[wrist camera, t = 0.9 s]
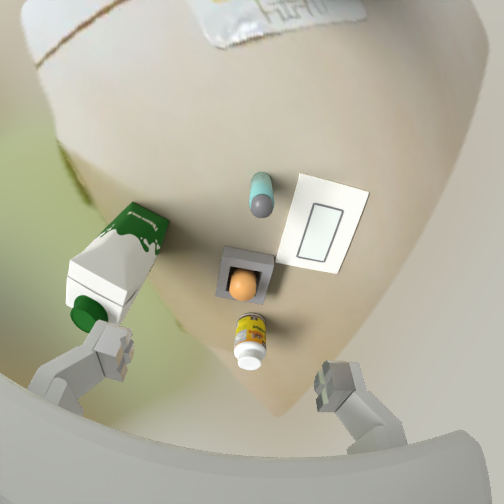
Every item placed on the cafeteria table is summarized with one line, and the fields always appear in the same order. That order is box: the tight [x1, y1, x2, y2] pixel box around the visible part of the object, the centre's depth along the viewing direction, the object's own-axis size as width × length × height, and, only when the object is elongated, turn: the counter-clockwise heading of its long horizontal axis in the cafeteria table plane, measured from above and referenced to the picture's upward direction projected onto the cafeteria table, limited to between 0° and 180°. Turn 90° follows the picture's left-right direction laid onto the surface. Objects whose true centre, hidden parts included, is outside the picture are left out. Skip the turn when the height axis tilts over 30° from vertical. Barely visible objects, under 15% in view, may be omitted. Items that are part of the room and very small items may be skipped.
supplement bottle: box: [234, 313, 266, 370], centre depth 48 cm, size 6×6×10 cm
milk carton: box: [66, 202, 169, 333], centre depth 34 cm, size 9×9×20 cm
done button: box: [229, 268, 256, 301], centre depth 43 cm, size 4×4×3 cm
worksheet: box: [275, 173, 369, 274], centre depth 41 cm, size 15×11×1 cm
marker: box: [249, 172, 274, 218], centre depth 34 cm, size 3×3×10 cm
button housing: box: [215, 246, 274, 305], centre depth 45 cm, size 8×8×3 cm
